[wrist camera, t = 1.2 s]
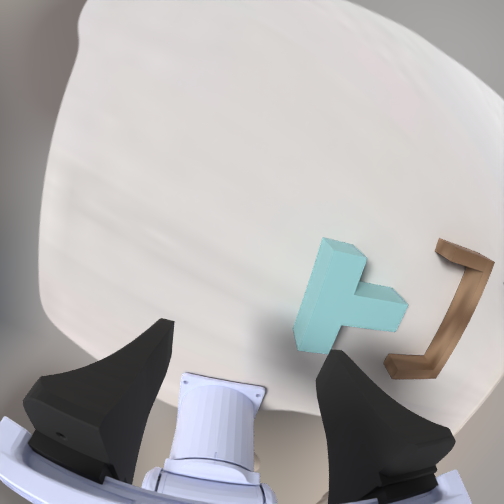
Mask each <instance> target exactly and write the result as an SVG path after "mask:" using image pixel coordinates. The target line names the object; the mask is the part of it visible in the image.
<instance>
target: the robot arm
mask: <svg viewBox="0 0 504 504" xmlns="http://www.w3.org/2000/svg"><path fill="white" fill-rule="evenodd" d="M174 322H175V321H171V320H167V319H163V318H161V319H159V320H158V321H157V322H156V323H154V324H153V325H152V326H151V327H150V328H149V329H147V330H146V331H145V332H144V333H142V334H141V335H140V336H139V337H137V338H136V339H135V340H133V341H132V342H130V343H129V344H127V345H126V346H124V347H123V348H121V349H120V350H118V351H117V352H115V353H113V354H112V355H110V356H108V357H106V358H104V359H102V360H100V361H97V362H95V363H93V364H90V365H88V366H85V367H82V368H79V369H76V370H72V371H69V372H65V373H60V374H54V375H48V376H42V377H40V378H39V379H38V381H37V382H36V383H35V384H34V385H33V387H32V388H31V390H30V391H29V393H28V394H27V395H26V397H25V398H24V400H23V406H24V408H25V411H26V413H27V415H28V417H29V419H30V421H31V422H32V424H33V426H34V428H35V429H36V430H35V432H34V433H33V435H31V434H30V433H29V432H28V431H27V430H26V429H25V428H23V427H21V426H20V425H18V424H17V423H15V422H13V421H12V420H11V419H9V418H8V417H4V418H3V419H2V421H1V422H0V480H1V481H2V482H3V483H4V484H6V485H7V486H8V487H10V488H11V489H13V490H14V491H15V492H17V493H18V494H20V495H22V496H23V497H24V498H26V499H27V500H29V501H30V502H32V503H34V504H278V503H277V498H276V495H275V493H274V491H273V490H272V489H271V488H270V487H269V485H267V484H265V483H260V474H259V473H255V472H254V419H255V416H256V414H257V411H258V409H259V406H260V404H261V402H262V399H263V397H264V394H265V388H264V387H261V386H254V385H248V384H241V383H235V382H229V381H224V380H219V379H213V378H208V377H203V376H199V375H194V374H190V373H183V374H182V377H181V385H180V395H179V406H178V418H177V427H176V432H175V435H174V439H173V444H172V448H171V452H170V457H169V459H166V461H165V465H164V469H163V468H160V467H154V468H153V469H152V470H150V471H148V472H147V473H146V475H145V478H144V481H143V484H142V487H141V488H140V487H137V486H133V485H132V482H133V476H134V471H135V466H136V462H137V457H138V453H139V449H140V445H141V441H142V437H143V433H144V430H145V426H146V422H147V419H148V416H149V413H150V410H151V408H152V406H153V403H154V401H155V399H156V396H157V394H158V392H159V389H160V387H161V385H162V382H163V380H164V378H165V375H166V372H167V369H168V366H169V362H170V359H171V355H172V343H173V332H174ZM186 381H188V382H186ZM316 390H317V399H318V403H319V408H320V412H321V416H322V421H323V425H324V429H325V433H326V439H327V446H328V459H329V497H328V504H472V503H471V500H470V498H469V496H468V493H467V491H466V489H465V486H464V484H463V482H462V480H461V478H460V475H459V473H458V471H457V470H456V469H455V470H452V471H449V472H447V473H444V474H441V475H440V476H438V477H435V475H434V473H435V472H436V471H437V468H436V464H437V463H438V462H439V461H440V460H441V459H442V458H444V457H445V456H446V455H447V454H448V453H449V452H450V451H451V450H452V448H453V446H454V444H455V439H454V437H453V435H452V433H451V431H450V429H449V428H447V427H444V426H441V425H439V424H436V423H433V422H431V421H429V420H427V419H425V418H422V417H420V416H419V415H417V414H415V413H413V412H411V411H410V410H408V409H407V408H405V407H403V406H402V405H400V404H399V403H398V402H396V401H395V400H394V399H392V398H391V397H390V396H388V395H387V394H386V393H385V392H384V391H382V390H381V389H380V388H379V387H378V386H377V385H376V384H375V383H374V382H373V381H372V380H371V379H370V378H369V377H368V376H367V375H366V374H365V373H364V372H363V371H362V370H361V369H360V368H359V367H358V366H357V365H356V364H355V363H354V362H353V361H352V360H351V359H350V358H349V357H348V356H347V355H346V354H345V353H344V352H343V351H342V350H333V349H331V350H330V352H329V354H328V356H327V358H326V360H325V362H324V364H323V366H322V368H321V370H320V372H319V374H318V376H317V378H316ZM258 394H259V395H258Z"/></svg>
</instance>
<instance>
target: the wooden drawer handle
mask: <svg viewBox="0 0 504 504" xmlns="http://www.w3.org/2000/svg"><path fill="white" fill-rule="evenodd" d="M435 252H437V253H439V254H440V255H442V256H443V257H445V258H446V259H448V260H450V261H451V262H455V263H458V264H461V265H464V266H467V267H466V270H465V272H464V275H463V277H462V280H461V282H460V285H459V287H458V289H457V292H456V294H455V296H454V298H453V301H452V303H451V305H450V307H449V309H448V311H447V313H446V315H445V318H444V320H443V322H442V324H441V325H440V327H439V329H438V331H437V333H436V335H435V337H434V339H433V341H432V342H431V344H430V346H429V348H428V349H427V351H426V353H425V355H424V356H419V355H399V354H388V356H387V358H386V359H385V361H384V365H385V367H386V369H387V371H388V372H389V374H390V376H391V378H392V379H434V378H436V377H437V376H438V374H439V373H440V371H441V370H442V368H443V367H444V365H445V363H446V362H447V360H448V359H449V357H450V355H451V354H452V352H453V350H454V349H455V347H456V345H457V343H458V342H459V340H460V338H461V336H462V334H463V332H464V331H465V329H466V327H467V325H468V323H469V321H470V319H471V317H472V315H473V313H474V311H475V309H476V306H477V304H478V302H479V300H480V298H481V295H482V293H483V291H484V288H485V286H486V284H487V281H488V279H489V276H490V274H491V271H492V268H493V266H494V263H495V262H494V261H492V260H490V259H488V258H487V257H485V256H483V255H481V254H480V253H477V252H475V251H472V250H470V249H467V248H464V247H462V246H459V245H457V244H454V243H451V242H448V241H446V240H443V239H440V238H439V241H438V244H437V246H436V249H435Z"/></svg>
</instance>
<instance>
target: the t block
mask: <svg viewBox="0 0 504 504" xmlns="http://www.w3.org/2000/svg"><path fill="white" fill-rule="evenodd" d="M366 261H367V257H366V256H365V255H364V254H362V253H361V252H360V251H359V250H358V249H357V248H356V247H355V246H354V245H353V244H349V243H345V242H340V241H336V240H332V239H328V238H324V237H323V238H322V241H321V245H320V248H319V251H318V255H317V258H316V261H315V264H314V267H313V270H312V274H311V277H310V280H309V283H308V286H307V289H306V292H305V295H304V298H303V301H302V304H301V307H300V310H299V313H298V315H297V318H296V321H295V324H294V327H293V331H294V336H295V340H296V345H297V349H298V351H305V352H313V353H321V354H329V352H330V350H331V347H332V345H333V343H334V341H335V339H336V336H337V334H338V332H339V330H340V327H341V325H344V326H351V327H358V328H366V329H374V330H382V331H391V332H396V330H397V328H398V326H399V324H400V322H401V320H402V318H403V316H404V314H405V311H406V309H407V307H408V304H407V303H406V301H405V300H404V299H403V298H402V297H401V296H400V295H399V294H398V293H397V292H396V291H395V290H394V289H393V288H390V287H385V286H381V285H376V284H371V283H366V282H361V281H359V280H360V277H361V275H362V272H363V269H364V266H365V263H366Z"/></svg>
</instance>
